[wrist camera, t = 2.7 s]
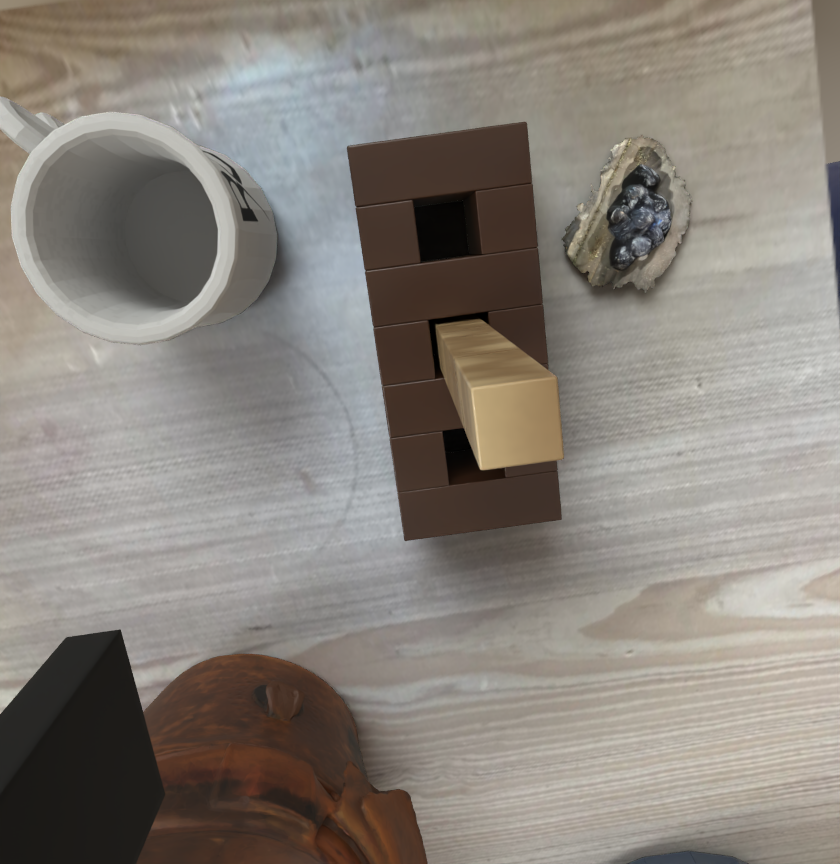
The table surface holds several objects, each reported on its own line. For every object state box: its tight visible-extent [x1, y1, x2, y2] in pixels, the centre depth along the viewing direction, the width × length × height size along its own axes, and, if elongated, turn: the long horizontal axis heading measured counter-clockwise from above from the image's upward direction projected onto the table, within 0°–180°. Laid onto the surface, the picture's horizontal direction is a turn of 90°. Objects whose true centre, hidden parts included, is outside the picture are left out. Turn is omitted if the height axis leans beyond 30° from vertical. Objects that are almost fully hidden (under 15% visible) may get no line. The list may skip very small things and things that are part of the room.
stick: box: [430, 314, 564, 470], centre depth 29 cm, size 2×2×22 cm
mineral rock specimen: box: [562, 135, 692, 293], centre depth 37 cm, size 7×8×2 cm
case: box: [136, 654, 427, 864], centre depth 36 cm, size 18×20×18 cm
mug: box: [0, 97, 277, 345], centre depth 32 cm, size 12×9×10 cm
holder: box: [347, 122, 562, 541], centre depth 36 cm, size 19×8×6 cm, turn 8°
